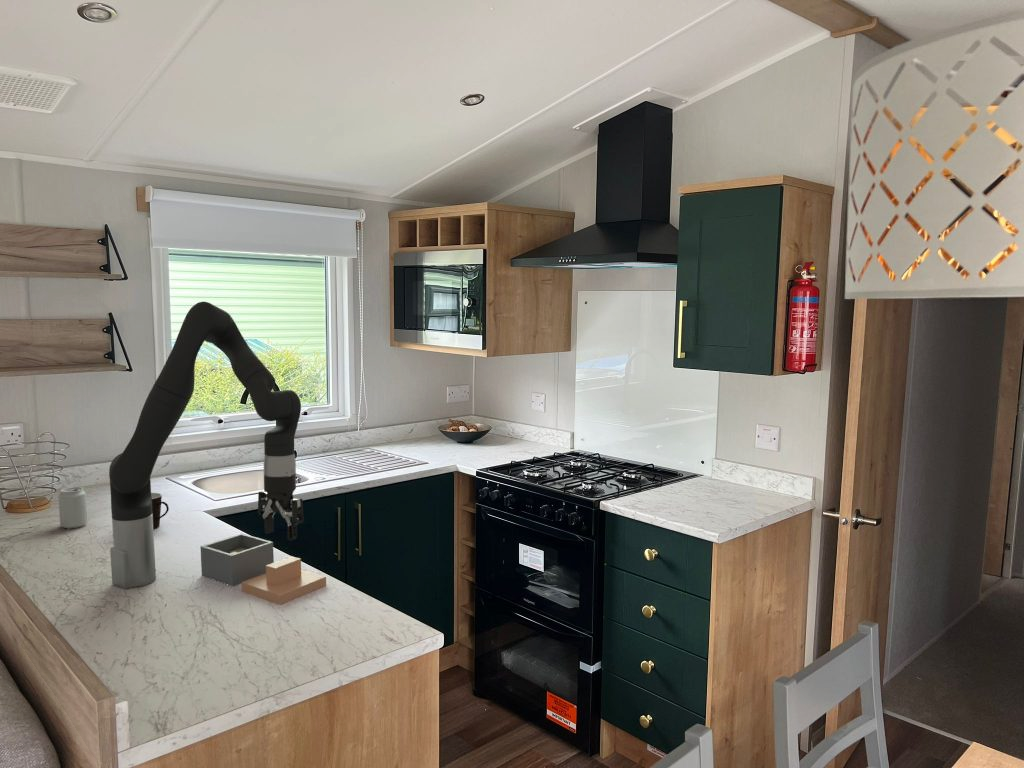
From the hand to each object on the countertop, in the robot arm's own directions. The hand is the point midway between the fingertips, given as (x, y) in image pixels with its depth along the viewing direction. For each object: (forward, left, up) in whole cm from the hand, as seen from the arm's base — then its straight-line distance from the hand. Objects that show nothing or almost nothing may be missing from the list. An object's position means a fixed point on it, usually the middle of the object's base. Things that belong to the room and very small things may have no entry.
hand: (280, 536), depth 188 cm
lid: (+1, 0, -14) cm, 14 cm away
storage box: (+1, +18, -14) cm, 23 cm away
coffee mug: (+10, +73, -14) cm, 75 cm away
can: (-2, +95, -14) cm, 96 cm away
